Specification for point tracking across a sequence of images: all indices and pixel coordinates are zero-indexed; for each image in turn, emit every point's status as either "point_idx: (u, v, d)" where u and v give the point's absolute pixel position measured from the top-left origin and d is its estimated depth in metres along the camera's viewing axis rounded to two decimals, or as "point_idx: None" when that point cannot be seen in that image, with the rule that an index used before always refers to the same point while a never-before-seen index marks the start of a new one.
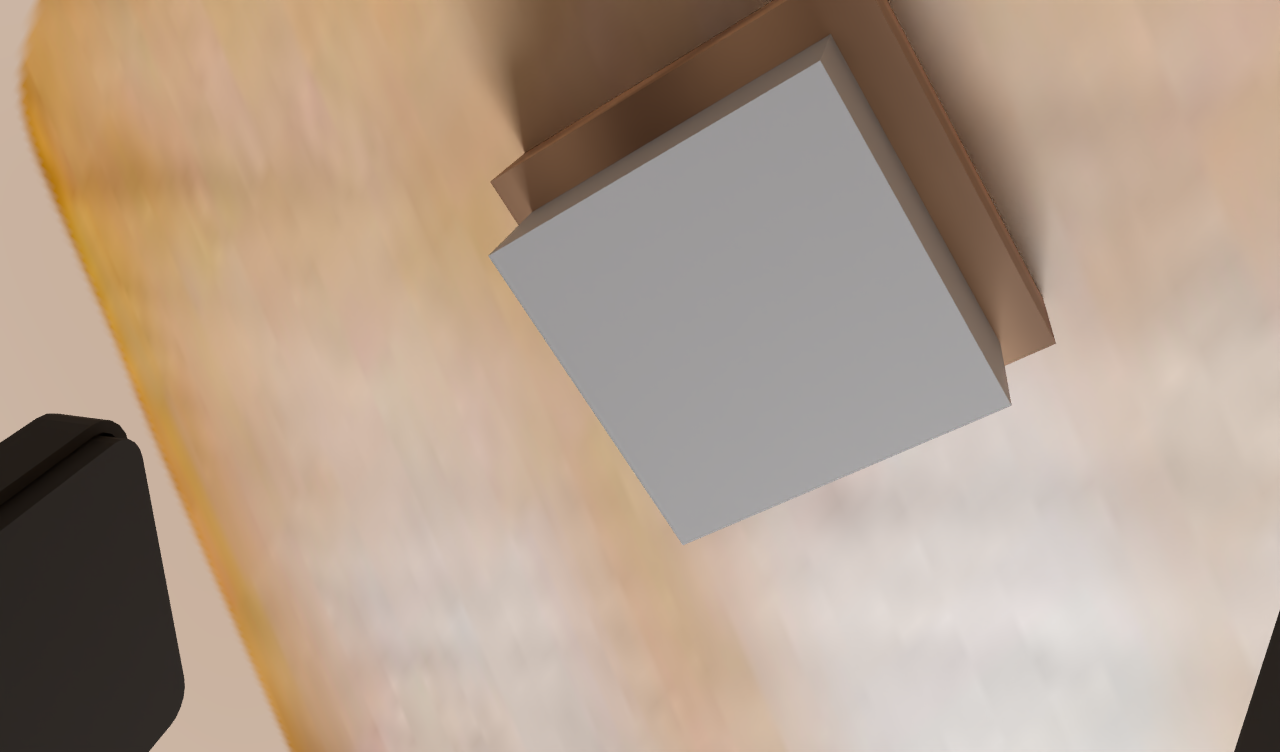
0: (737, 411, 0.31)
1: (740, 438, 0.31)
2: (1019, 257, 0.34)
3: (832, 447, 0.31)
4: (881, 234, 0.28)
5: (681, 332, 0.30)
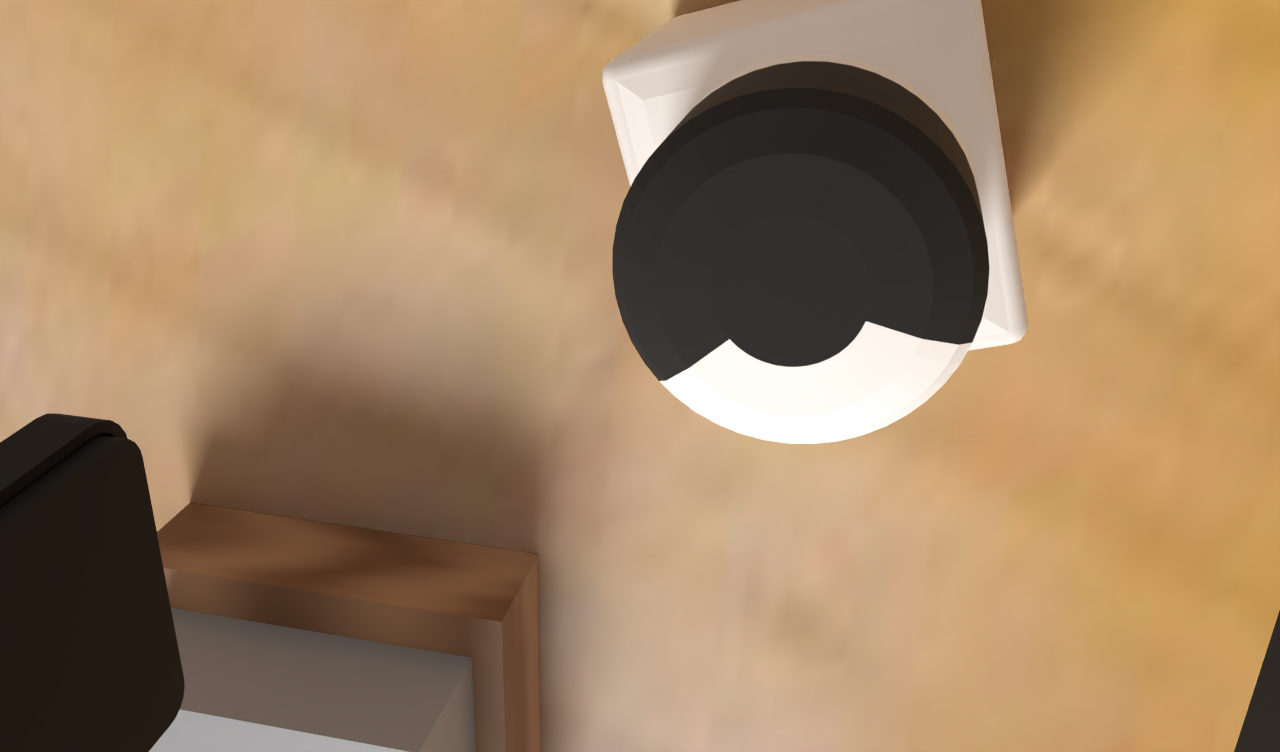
0: None
1: None
2: None
3: None
4: None
5: None
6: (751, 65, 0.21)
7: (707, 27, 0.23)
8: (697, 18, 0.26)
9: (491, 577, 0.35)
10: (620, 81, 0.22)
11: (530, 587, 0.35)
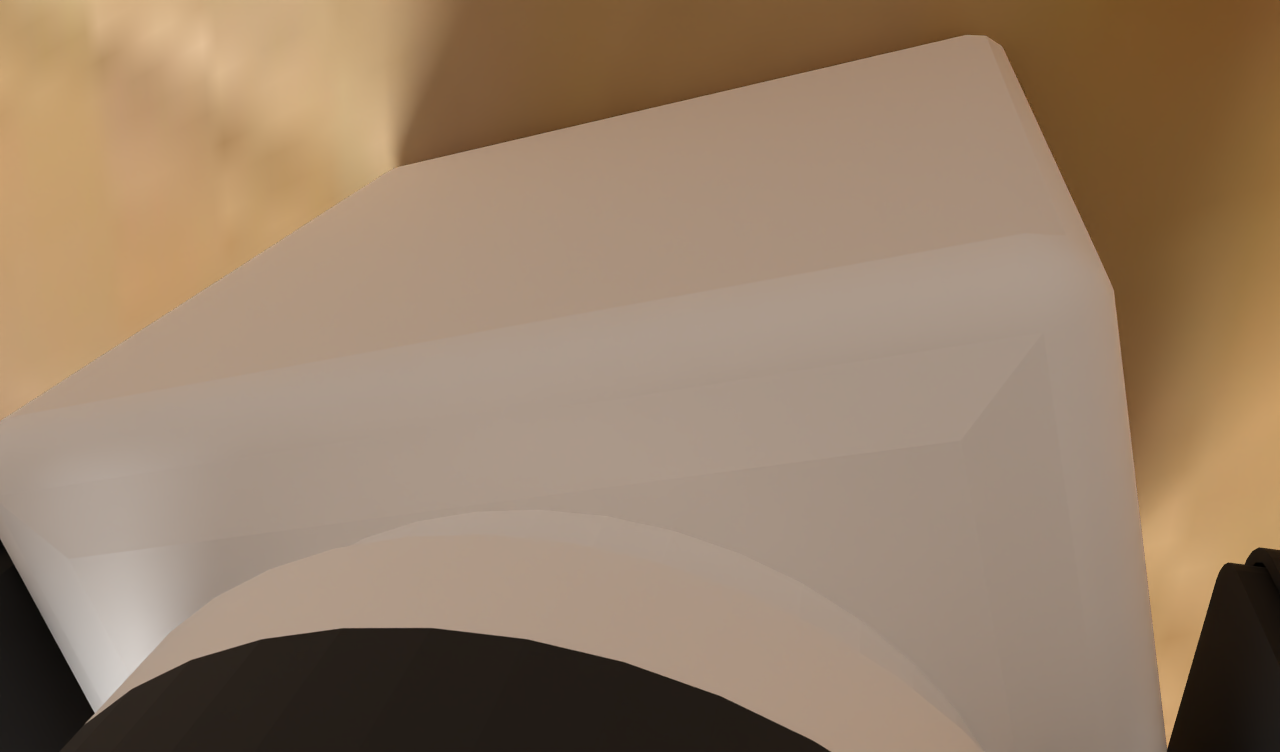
0: None
1: None
2: None
3: None
4: None
5: None
6: (361, 493, 0.07)
7: (325, 290, 0.08)
8: (389, 204, 0.11)
9: None
10: (7, 498, 0.07)
11: None
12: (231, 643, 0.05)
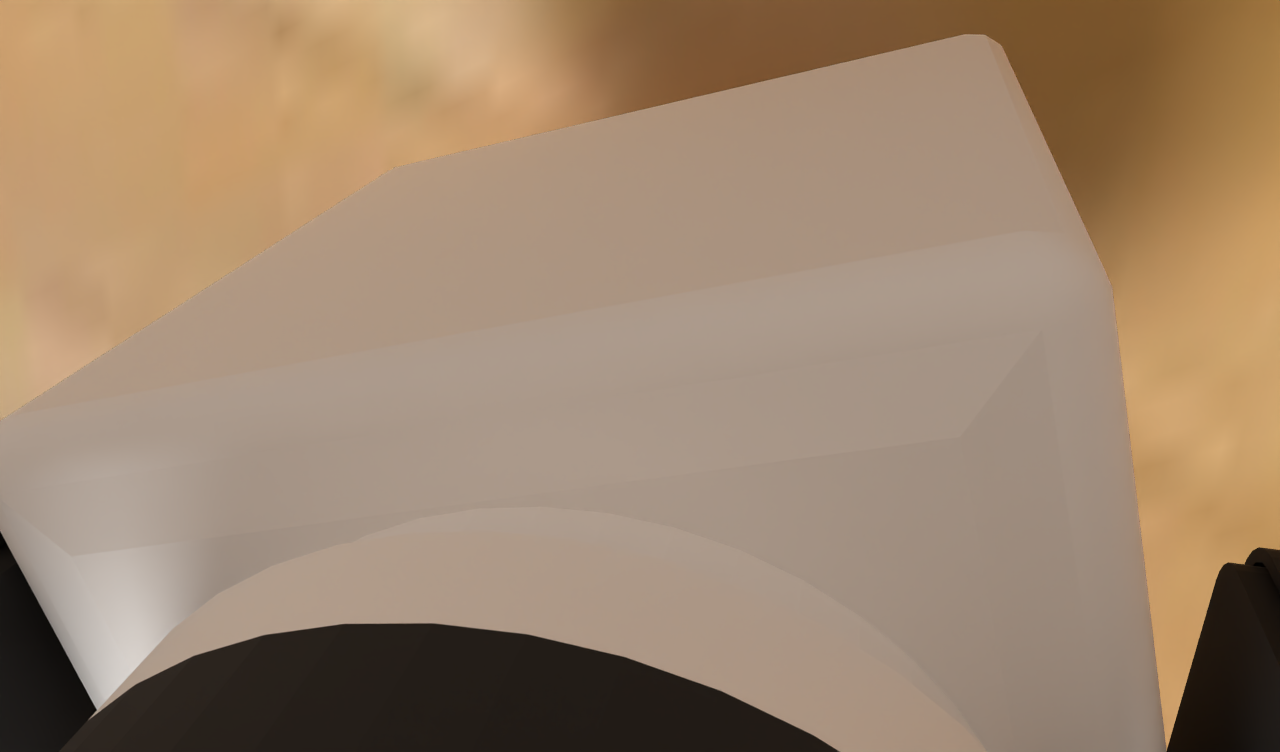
0: None
1: None
2: None
3: None
4: None
5: None
6: (363, 490, 0.07)
7: (327, 289, 0.08)
8: (390, 203, 0.11)
9: None
10: (10, 495, 0.07)
11: None
12: (234, 638, 0.05)
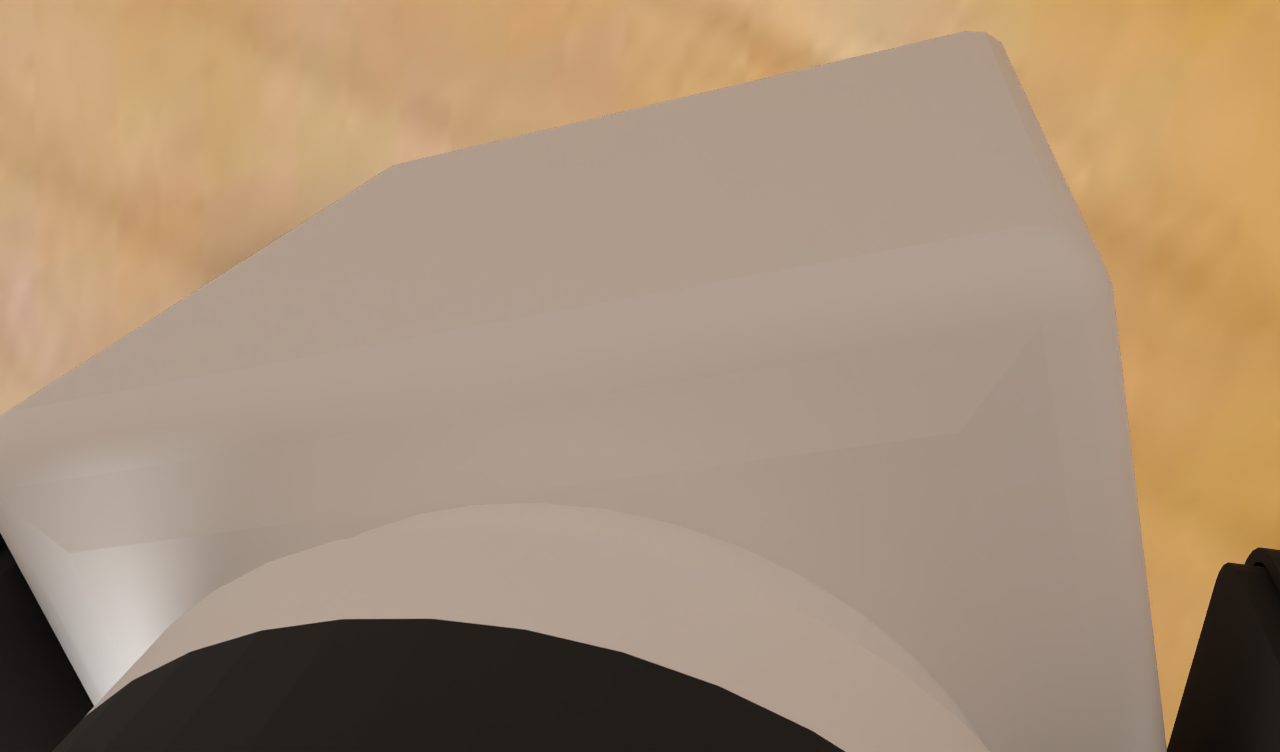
0: None
1: None
2: None
3: None
4: None
5: None
6: (361, 486, 0.07)
7: (325, 286, 0.08)
8: (389, 201, 0.11)
9: None
10: (7, 492, 0.07)
11: None
12: (231, 634, 0.05)
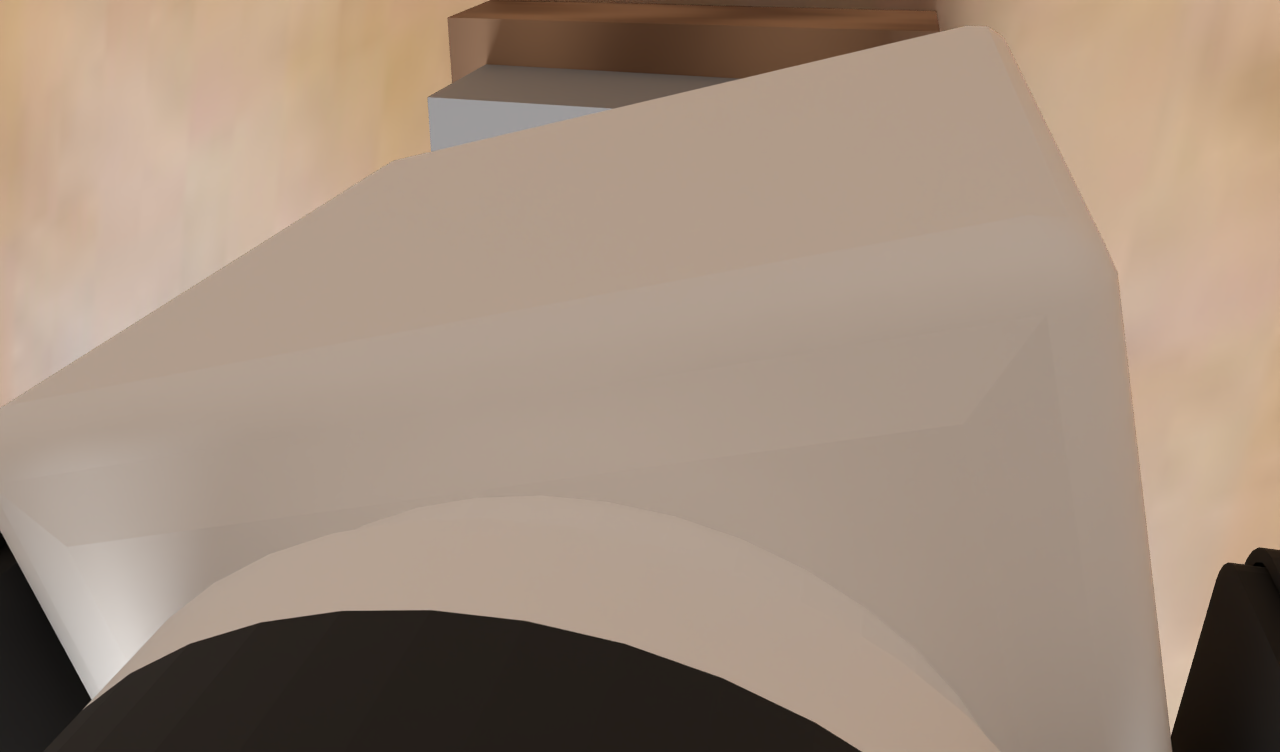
0: None
1: None
2: None
3: None
4: None
5: None
6: (360, 479, 0.07)
7: (324, 279, 0.08)
8: (389, 195, 0.11)
9: (896, 18, 0.28)
10: (5, 485, 0.07)
11: None
12: (230, 627, 0.05)
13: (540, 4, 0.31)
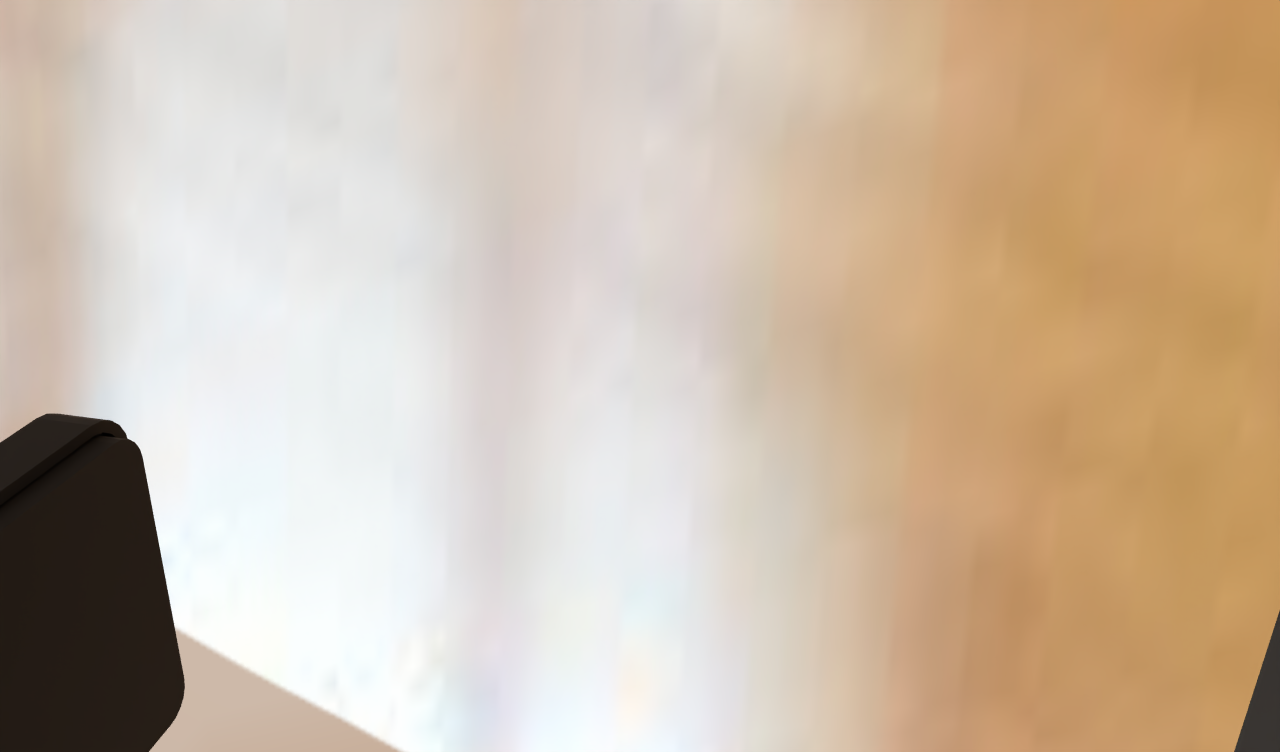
0: None
1: None
2: None
3: None
4: None
5: None
6: None
7: None
8: None
9: None
10: None
11: None
12: None
13: None
